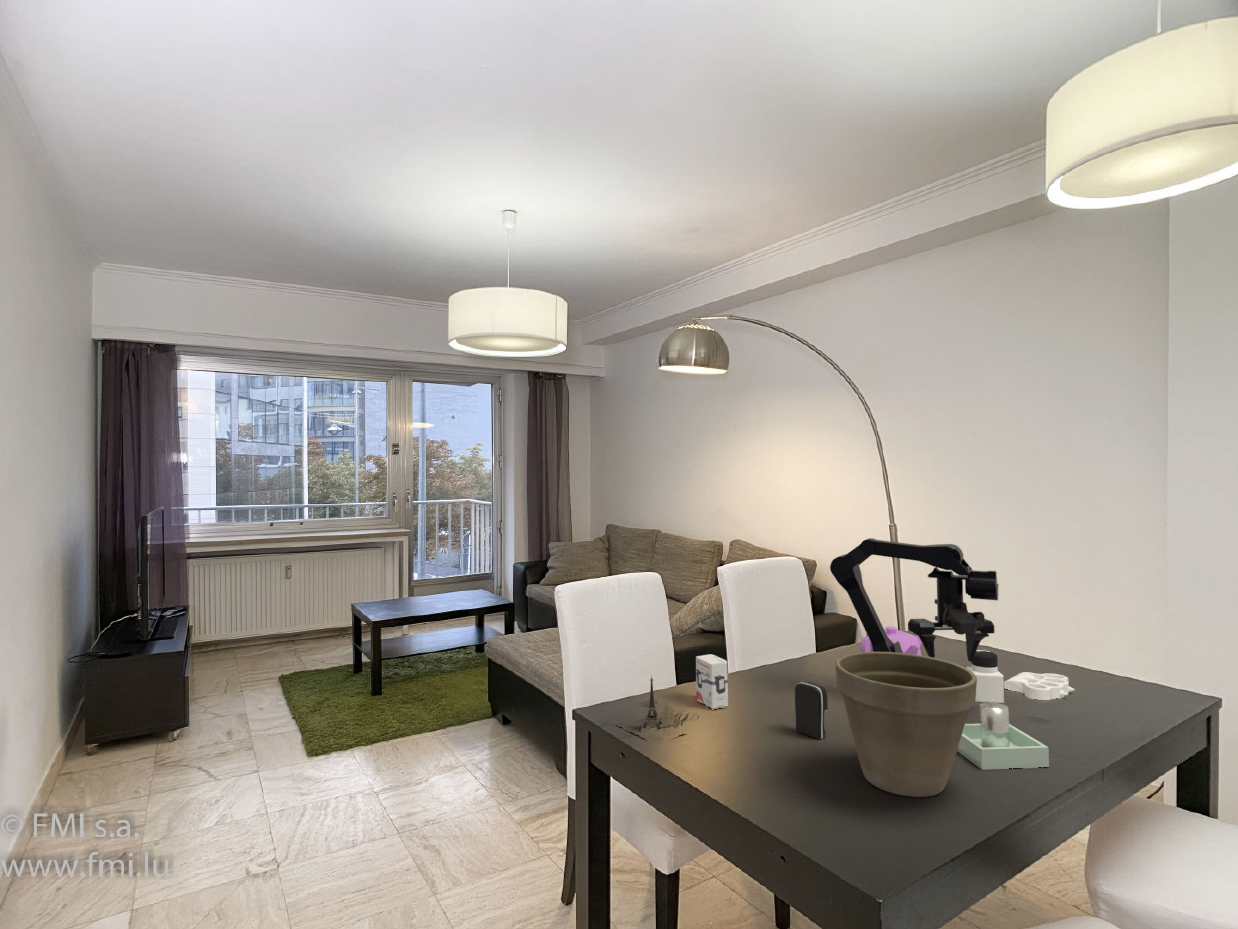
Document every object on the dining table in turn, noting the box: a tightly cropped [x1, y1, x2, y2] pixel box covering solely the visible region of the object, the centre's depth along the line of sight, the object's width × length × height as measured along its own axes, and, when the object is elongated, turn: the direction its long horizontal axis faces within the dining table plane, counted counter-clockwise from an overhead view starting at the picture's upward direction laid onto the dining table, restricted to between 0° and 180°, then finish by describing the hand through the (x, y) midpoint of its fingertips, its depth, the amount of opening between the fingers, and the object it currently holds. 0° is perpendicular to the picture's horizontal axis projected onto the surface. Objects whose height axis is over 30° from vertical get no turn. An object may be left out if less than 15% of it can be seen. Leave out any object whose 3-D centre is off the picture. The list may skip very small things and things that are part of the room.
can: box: [979, 702, 1010, 748], centre depth 144 cm, size 5×5×9 cm
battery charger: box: [794, 681, 829, 740], centre depth 157 cm, size 7×4×11 cm, turn 38°
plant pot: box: [835, 651, 977, 798], centre depth 133 cm, size 25×25×22 cm
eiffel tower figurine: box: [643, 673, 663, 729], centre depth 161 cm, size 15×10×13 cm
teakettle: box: [860, 626, 923, 656], centre depth 209 cm, size 17×17×12 cm
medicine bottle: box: [965, 649, 1005, 704], centre depth 180 cm, size 7×7×12 cm
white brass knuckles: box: [1004, 671, 1076, 701], centre depth 186 cm, size 3×18×15 cm
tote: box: [957, 723, 1050, 771], centre depth 144 cm, size 14×14×4 cm
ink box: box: [695, 654, 729, 708], centre depth 178 cm, size 8×5×12 cm, turn 23°
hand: (951, 661), depth 168 cm, fingers open, 9 cm apart
